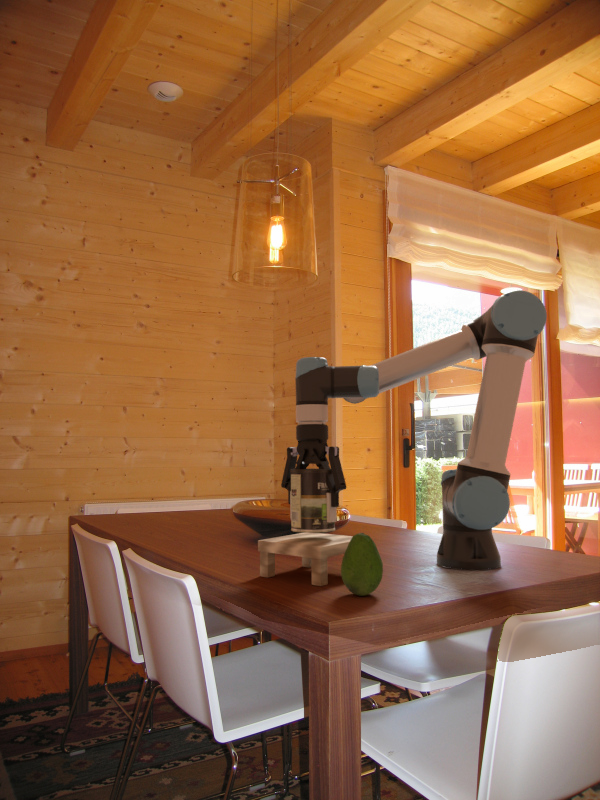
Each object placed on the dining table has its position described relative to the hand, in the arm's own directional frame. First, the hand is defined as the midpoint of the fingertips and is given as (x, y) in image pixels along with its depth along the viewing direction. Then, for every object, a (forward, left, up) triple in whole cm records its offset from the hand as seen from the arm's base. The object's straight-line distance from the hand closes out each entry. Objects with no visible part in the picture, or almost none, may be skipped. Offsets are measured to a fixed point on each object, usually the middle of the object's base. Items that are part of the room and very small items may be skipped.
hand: (313, 520), depth 141 cm
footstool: (0, 0, -12) cm, 12 cm away
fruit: (-20, +10, -12) cm, 26 cm away
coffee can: (0, 0, -2) cm, 2 cm away
